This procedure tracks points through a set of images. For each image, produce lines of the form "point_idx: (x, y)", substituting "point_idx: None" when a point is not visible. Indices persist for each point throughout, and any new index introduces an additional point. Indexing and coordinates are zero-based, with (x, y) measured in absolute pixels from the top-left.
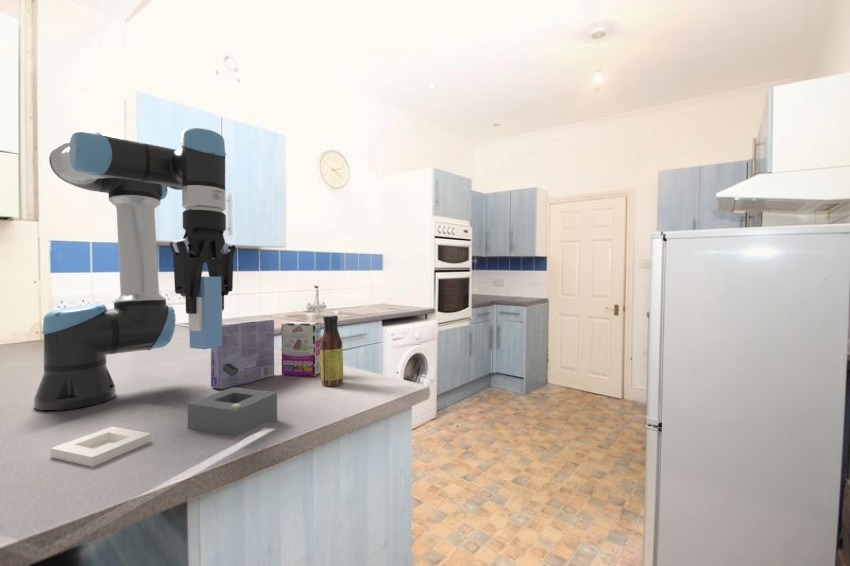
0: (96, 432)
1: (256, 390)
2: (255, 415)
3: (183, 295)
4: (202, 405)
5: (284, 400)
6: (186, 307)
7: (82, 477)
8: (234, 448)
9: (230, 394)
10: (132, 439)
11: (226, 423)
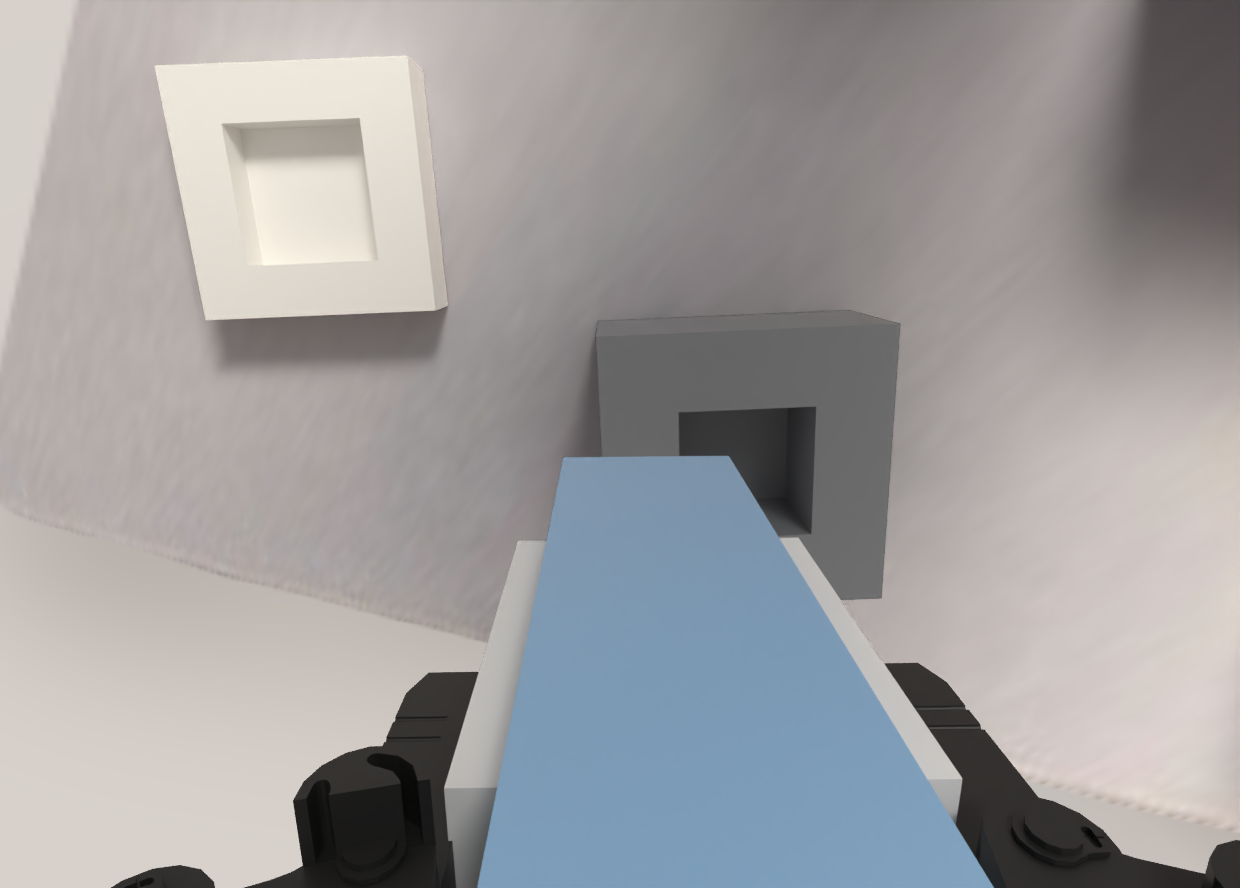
0: (334, 64)
1: (881, 487)
2: None
3: (327, 818)
4: (602, 428)
5: (1072, 408)
6: (393, 738)
7: (203, 318)
8: None
9: (792, 406)
10: (364, 300)
11: None
